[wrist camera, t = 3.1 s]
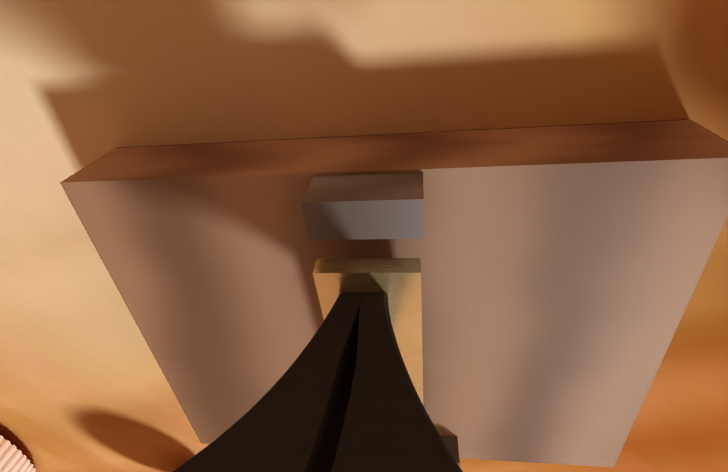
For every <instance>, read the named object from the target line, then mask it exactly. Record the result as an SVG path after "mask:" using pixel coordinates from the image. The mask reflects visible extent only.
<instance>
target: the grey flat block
mask: <svg viewBox="0 0 728 472" xmlns="http://www.w3.org/2000/svg"><path fill="white" fill-rule="evenodd" d="M60 183H61V185H62V187H63V189H64V191H65V193H66V195H67V196H68V198H69V200H70V202H71V204H72V206H73V207H74V209H75V211H76V213H77V215H78V217H79V219H80V220H81V222H82V224H83V226H84V228H85V230H86V231H87V233H88V235H89V237H90V239H91V241H92V243H93V244H94V246H95V248H96V250H97V252H98V254H99V255H100V257H101V259H102V261H103V263H104V265H105V267H106V268H107V270H108V272H109V274H110V276H111V278H112V279H113V281H114V283H115V285H116V287H117V289H118V291H119V292H120V294H121V296H122V298H123V300H124V302H125V303H126V305H127V307H128V309H129V311H130V313H131V315H132V316H133V318H134V320H135V322H136V324H137V326H138V327H139V329H140V331H141V333H142V335H143V337H144V339H145V340H146V342H147V344H148V346H149V348H150V350H151V351H152V353H153V355H154V357H155V359H156V361H157V363H158V364H159V366H160V368H161V370H162V372H163V374H164V375H165V377H166V379H167V381H168V383H169V385H170V387H171V388H172V390H173V392H174V394H175V396H176V398H177V399H178V401H179V403H180V405H181V407H182V409H183V411H184V412H185V414H186V416H187V418H188V420H189V422H190V423H191V425H192V427H193V429H194V431H195V433H196V435H197V436H198V438H199V440H200V442H201V443H206V444H211V443H212V442H213V441H214V440H216V439H217V438H218V437H219V436H220V435H221V434H223V433H224V432H225V431H226V430H227V429H228V428H230V427H231V426H232V425H233V424H234V423H235V422H237V421H238V420H239V419H240V418H241V417H242V416H243V415H244V414H246V413H247V412H248V411H249V410H250V409H251V408H252V407H253V406H254V405H255V404H256V403H257V402H258V401H259V400H260V399H261V398H262V397H263V396H264V395H265V394H266V393H267V392H268V391H269V390H270V389H271V388H272V387H273V386H274V384H275V383H276V382H277V381H278V380H279V379H280V378H281V377H282V376H283V374H284V373H285V372H286V371H287V370H288V369H289V367H290V366H291V365H292V364H293V363H294V361H295V360H296V359H297V357H298V356H299V355H300V353H301V352H302V351H303V350H304V348H305V347H306V346H307V344H308V343H309V342H310V340H311V339H312V337H313V336H314V334H315V333H316V331H317V330H318V329H319V327H320V326H321V324H322V323H323V321H324V319H323V315H322V310H321V306H320V302H319V298H318V294H317V289H316V285H315V281H314V277H313V270H314V266H315V263H316V259H350V258H421V297H422V355H423V406H424V408H425V410H426V412H427V414H428V415H429V417H430V419H431V421H432V423H433V424H434V426H435V428H436V430H437V431H438V433H439V435H440V437H441V438H442V440H443V442H444V444H445V445H446V447H447V448H448V450H449V452H450V453H451V455H452V456H453V458H454V460H455V461H456V463H457V464H458V466H459V465H460V462H459V458H464V459H482V460H499V461H516V462H533V463H551V464H568V465H585V466H602V467H614V465H615V463H616V461H617V459H618V456H619V454H620V452H621V450H622V448H623V445H624V443H625V441H626V439H627V437H628V434H629V432H630V430H631V428H632V426H633V423H634V421H635V419H636V417H637V415H638V412H639V410H640V408H641V406H642V404H643V401H644V399H645V397H646V395H647V393H648V390H649V388H650V386H651V384H652V382H653V379H654V377H655V375H656V373H657V371H658V368H659V366H660V364H661V362H662V360H663V357H664V355H665V353H666V351H667V349H668V346H669V344H670V342H671V340H672V338H673V335H674V333H675V331H676V329H677V327H678V324H679V322H680V320H681V318H682V316H683V313H684V311H685V309H686V307H687V305H688V302H689V300H690V298H691V296H692V294H693V291H694V289H695V287H696V285H697V283H698V280H699V278H700V276H701V274H702V272H703V269H704V267H705V265H706V263H707V261H708V258H709V256H710V254H711V252H712V250H713V247H714V245H715V243H716V241H717V239H718V236H719V234H720V232H721V230H722V228H723V225H724V223H725V221H726V219H727V217H728V141H727V140H725V139H723V138H721V137H720V136H718V135H716V134H714V133H713V132H711V131H709V130H708V129H706V128H704V127H702V126H701V125H699V124H697V123H695V122H694V121H692V120H672V121H651V122H631V123H611V124H591V125H570V126H550V127H530V128H510V129H489V130H469V131H449V132H429V133H408V134H388V135H368V136H348V137H327V138H307V139H287V140H267V141H246V142H226V143H206V144H186V145H165V146H145V147H125V148H115V149H114V150H112V151H110V152H109V153H107V154H106V155H104V156H102V157H101V158H99V159H98V160H96V161H94V162H93V163H91V164H89V165H88V166H86V167H85V168H83V169H81V170H80V171H78V172H77V173H75V174H73V175H72V176H70V177H68V178H67V179H65V180H64V181H62V182H60Z"/></svg>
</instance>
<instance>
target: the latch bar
mask: <svg viewBox="0 0 728 472" xmlns="http://www.w3.org/2000/svg"><path fill="white" fill-rule="evenodd" d="M313 277H314V281H315V285H316V289H317V294H318V298H319V302H320V306H321V310H322V315H323V319H324V320H325V318H326V316H327V315H328V313H329V312H330V310H331V308H332V307H333V305H334V303H335V301H336V300H337V298H338V296H339V295H340V294H341V293H342V292H365V293H371V292H384V293H386V294H387V295H388V302H389V313H390V318H391V323H392V327H393V331H394V334H395V337H396V341H397V344H398V347H399V350H400V353H401V356H402V358H403V361H404V364H405V366H406V369H407V371H408V374H409V376H410V378H411V381H412V383H413V385H414V387H415V389H416V392H417V394H418V396H419V398H420V400H421V402H422V404H423V355H422V297H421V258H350V259H316V263H315V266H314V270H313Z"/></svg>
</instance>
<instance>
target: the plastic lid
mask: <svg viewBox="0 0 728 472" xmlns="http://www.w3.org/2000/svg"><path fill="white" fill-rule="evenodd" d="M35 470H36V469H35V468H33V464H31V463H30V460H29V459H26V455H24V454H22V451H21V450H18V449H17V448H16V446H15V445H12V444H11V443H10V441H8V440H5V439H4V438H3V436H1V435H0V472H35Z"/></svg>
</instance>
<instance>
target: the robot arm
mask: <svg viewBox="0 0 728 472" xmlns="http://www.w3.org/2000/svg"><path fill="white" fill-rule="evenodd" d="M173 472H462V470H461V469H460V467H459V466H458V464H457V463H456V461H455V460H454V458H453V456H452V455H451V453H450V452H449V450H448V448H447V447H446V445H445V444H444V442H443V440H442V438H441V437H440V435H439V433H438V431H437V430H436V428H435V426H434V424H433V423H432V421H431V419H430V417H429V415H428V414H427V412H426V410H425V408H424V406H423V404H422V402H421V400H420V398H419V396H418V394H417V392H416V389H415V387H414V385H413V383H412V381H411V378H410V376H409V374H408V371H407V369H406V366H405V364H404V361H403V358H402V356H401V353H400V350H399V347H398V344H397V341H396V337H395V334H394V331H393V327H392V323H391V318H390V313H389V302H388V295H387V294H386V293H384V292H371V293H365V292H342V293H341V294H340V295H339V296H338V298H337V300H336V301H335V303H334V305H333V307H332V308H331V310H330V312H329V313H328V315H327V316H326V318H325V320H324V321H323V323H322V324H321V326H320V327H319V329H318V330H317V331H316V333H315V334H314V336H313V337H312V339H311V340H310V342H309V343H308V344H307V346H306V347H305V348H304V350H303V351H302V352H301V353H300V355H299V356H298V357H297V359H296V360H295V361H294V363H293V364H292V365H291V366H290V367H289V369H288V370H287V371H286V372H285V373H284V374H283V376H282V377H281V378H280V379H279V380H278V381H277V382H276V383H275V384H274V386H273V387H272V388H271V389H270V390H269V391H268V392H267V393H266V394H265V395H264V396H263V397H262V398H261V399H260V400H259V401H258V402H257V403H256V404H255V405H254V406H253V407H252V408H251V409H250V410H249V411H248V412H247V413H246V414H244V415H243V416H242V417H241V418H240V419H239V420H238V421H237V422H235V423H234V424H233V425H232V426H231V427H230V428H228V429H227V430H226V431H225V432H224V433H223V434H221V435H220V436H219V437H218V438H217V439H216V440H214V441H213V442H212V443H211V444H209V445H208V446H207V447H206V448H204V449H203V450H202V451H200V452H199V453H198V454H196V455H195V456H194V457H192V458H191V459H190V460H188V461H187V462H186V463H184V464H183V465H182V466H180V467H179V468H178V469H176V470H175V471H173Z"/></svg>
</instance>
